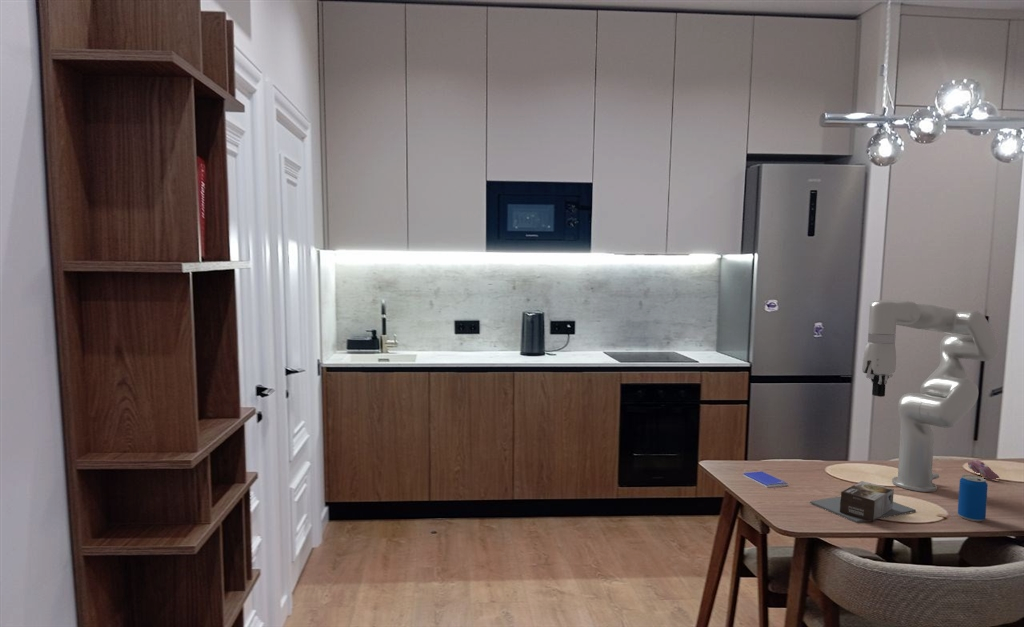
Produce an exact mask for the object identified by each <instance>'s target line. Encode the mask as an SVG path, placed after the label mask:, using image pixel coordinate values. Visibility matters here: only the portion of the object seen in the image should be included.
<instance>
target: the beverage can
mask: <svg viewBox="0 0 1024 627" xmlns="http://www.w3.org/2000/svg"><path fill="white" fill-rule="evenodd" d="M986 481H987V478H985V479H984V478H982V477H981V476H977V475H971V474H963V475H961V478H960V479H959V484H958V485H959V490H958V503H957V514H958V515H959V516H960V518H962V519H964V520H967V521H971V522H982V521H984V520H986V515H987V499H988V483H987V482H986Z"/></svg>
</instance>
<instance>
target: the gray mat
mask: <svg viewBox="0 0 1024 627" xmlns="http://www.w3.org/2000/svg"><path fill="white" fill-rule="evenodd" d="M840 500H841V495H840V496H835V497H828V498H823V499H816V500H811V501H809V504H810V503H811V504H810V505H813V506H816V507H818V508H820V507H821V508H820V509H822V508H823V510H825V509H826V510H825V511H827V510H828V512H830V513H832V512H833V514H834V513H835V514H834V515H838V516H839V515H840V516H839V517H841V516H842V518H844V517H845V518H844V519H846V518H847V519H846V520H849V521H851V520H852V521H851V522H853V523H856V524H858V523H859V524H860V523H863V522H868V521H869V520H865V519H862V518H858V517H855V516H851V515H848V514H844V513H841V512H840ZM910 512H912V513H916V509H914V508H913V507H909V506H906V505H903V504H901V503H898V502H895V501H893V507H892V509H891V510H889V511H888V512H886V513H885V514H883V515H881V516H880V517H878V518H877V519H876V520H879V519H884V517H885V518H889V516H891V517H895V516H894V515H896V516H900V514H901V515H905V513H906V514H910ZM869 522H870V521H869Z"/></svg>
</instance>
